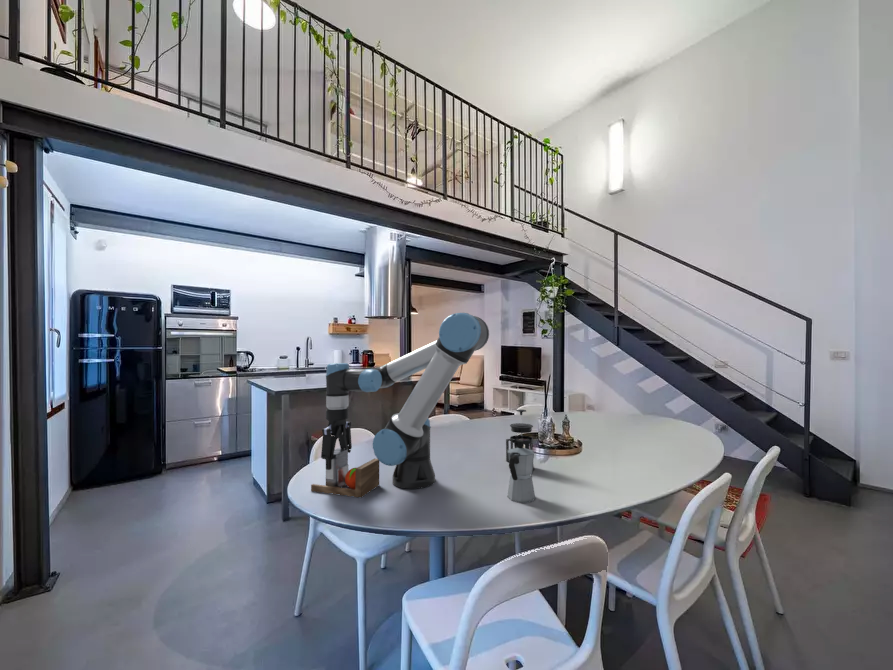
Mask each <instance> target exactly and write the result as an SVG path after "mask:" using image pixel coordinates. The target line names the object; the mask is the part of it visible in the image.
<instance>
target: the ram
mask: <svg viewBox="0 0 893 670" xmlns="http://www.w3.org/2000/svg"><path fill="white" fill-rule="evenodd" d="M333 459H334V479H326V478H325V486H333V487H340V488H341V487H342V488H344V487H345V486H347V485H346V483H345V476H346V474H347V472H348V471H349V453H348V449H341V448H340V447H339V448H335V450H334V454H333Z"/></svg>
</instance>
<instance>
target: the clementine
mask: <svg viewBox="0 0 893 670" xmlns="http://www.w3.org/2000/svg"><path fill="white" fill-rule="evenodd" d="M356 468H357V467H352V468H350V469H348V472H347V474H346V476H345V483H346V485H345V486H347V487H348V489H355V480H356Z"/></svg>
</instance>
